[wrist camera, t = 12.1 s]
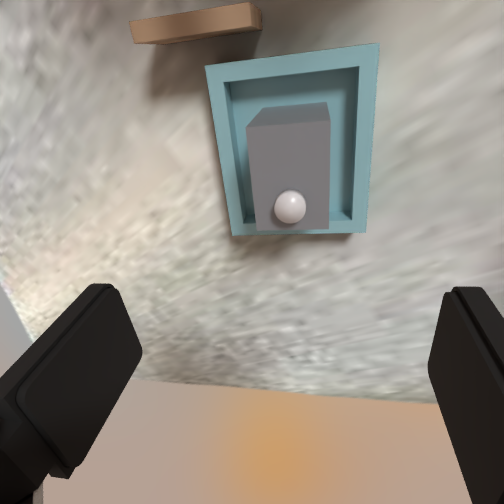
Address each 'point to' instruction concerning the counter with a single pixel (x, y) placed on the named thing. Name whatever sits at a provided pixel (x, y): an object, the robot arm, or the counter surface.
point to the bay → (197, 24)
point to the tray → (291, 93)
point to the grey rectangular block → (290, 166)
